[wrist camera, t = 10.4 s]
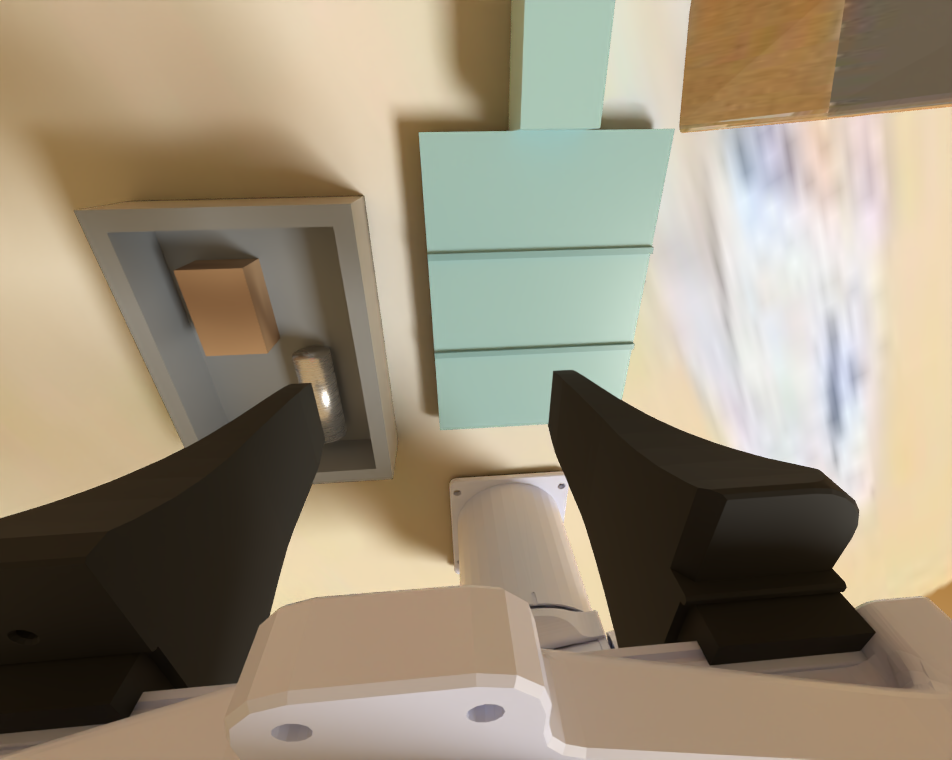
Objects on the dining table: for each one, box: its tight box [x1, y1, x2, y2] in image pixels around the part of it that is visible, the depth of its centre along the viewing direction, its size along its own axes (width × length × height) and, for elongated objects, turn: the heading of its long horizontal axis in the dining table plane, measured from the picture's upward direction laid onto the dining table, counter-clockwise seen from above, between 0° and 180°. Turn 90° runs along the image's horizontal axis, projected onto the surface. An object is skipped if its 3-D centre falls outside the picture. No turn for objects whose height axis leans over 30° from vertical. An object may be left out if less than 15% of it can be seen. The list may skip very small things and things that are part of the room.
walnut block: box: [173, 258, 280, 356], centre depth 19 cm, size 4×3×2 cm
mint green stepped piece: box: [419, 0, 675, 430], centre depth 19 cm, size 20×11×3 cm, turn 1°
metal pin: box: [292, 346, 347, 444], centre depth 22 cm, size 5×2×2 cm, turn 1°
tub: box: [74, 196, 398, 484], centre depth 20 cm, size 14×10×3 cm
